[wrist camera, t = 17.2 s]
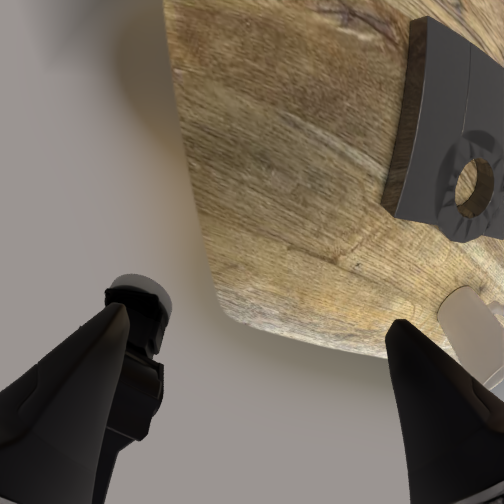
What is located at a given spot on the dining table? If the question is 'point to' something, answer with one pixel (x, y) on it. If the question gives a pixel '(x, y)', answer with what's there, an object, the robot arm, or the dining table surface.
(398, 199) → the sink board
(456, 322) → the mug
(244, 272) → the dining table surface
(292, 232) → the dining table surface
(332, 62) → the dining table surface
